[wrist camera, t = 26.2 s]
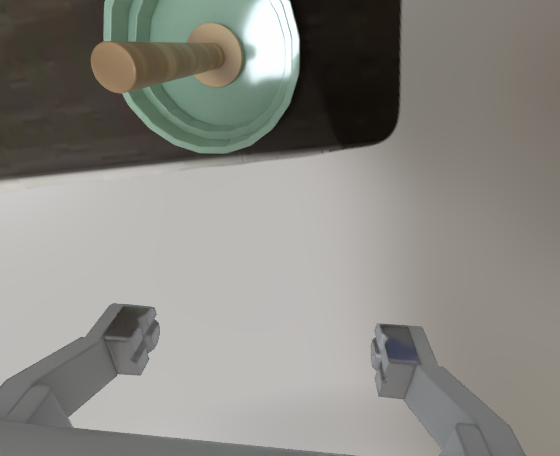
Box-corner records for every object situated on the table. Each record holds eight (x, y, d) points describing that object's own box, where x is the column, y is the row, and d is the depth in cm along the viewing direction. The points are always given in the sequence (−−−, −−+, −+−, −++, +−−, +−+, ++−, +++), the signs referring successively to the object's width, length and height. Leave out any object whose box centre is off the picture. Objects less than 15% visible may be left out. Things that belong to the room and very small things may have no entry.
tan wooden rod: (204, 10, 27) (67, -35, 12) (254, 45, 28) (189, 45, 13) (182, 66, 30) (44, 88, 14) (229, 96, 31) (149, 148, 15)
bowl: (268, -87, 25) (258, -122, 19) (320, 109, 31) (322, 122, 26) (107, -7, 28) (61, -19, 23) (185, 154, 35) (164, 173, 30)
